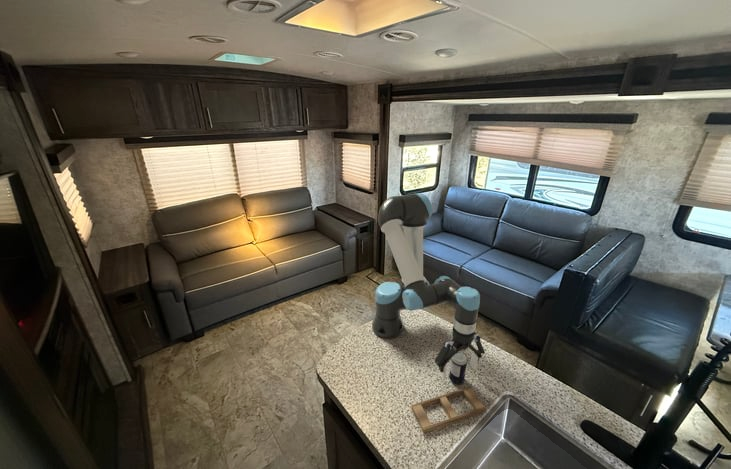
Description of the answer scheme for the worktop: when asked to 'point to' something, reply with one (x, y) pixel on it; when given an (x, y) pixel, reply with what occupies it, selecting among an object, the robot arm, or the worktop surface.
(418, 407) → the wooden frame
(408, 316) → the worktop surface
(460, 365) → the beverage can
